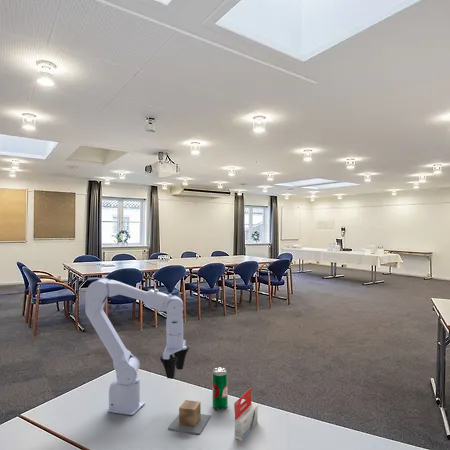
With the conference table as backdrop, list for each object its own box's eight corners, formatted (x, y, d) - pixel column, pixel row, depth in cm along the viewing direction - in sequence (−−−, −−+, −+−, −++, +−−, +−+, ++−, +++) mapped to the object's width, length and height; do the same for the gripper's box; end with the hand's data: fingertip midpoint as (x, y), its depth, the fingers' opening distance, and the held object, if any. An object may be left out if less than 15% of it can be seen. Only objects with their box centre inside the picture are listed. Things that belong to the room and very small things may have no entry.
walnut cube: (179, 424, 100) (179, 407, 101) (185, 416, 105) (185, 399, 105) (194, 427, 99) (194, 409, 99) (200, 418, 104) (200, 401, 104)
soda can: (226, 410, 109) (225, 373, 109) (210, 409, 110) (210, 372, 110) (228, 403, 114) (228, 367, 114) (214, 401, 115) (214, 366, 115)
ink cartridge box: (258, 422, 102) (257, 389, 103) (241, 441, 93) (241, 405, 93) (250, 420, 104) (250, 387, 104) (233, 439, 94) (233, 403, 94)
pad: (167, 429, 99) (167, 428, 99) (181, 412, 108) (181, 411, 108) (199, 434, 96) (199, 433, 96) (210, 416, 106) (210, 415, 106)
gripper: (177, 340, 106) (177, 383, 105) (193, 327, 120) (194, 366, 119) (156, 338, 108) (157, 381, 107) (175, 326, 122) (175, 364, 121)
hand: (175, 373), depth 114 cm, fingers open, 7 cm apart
